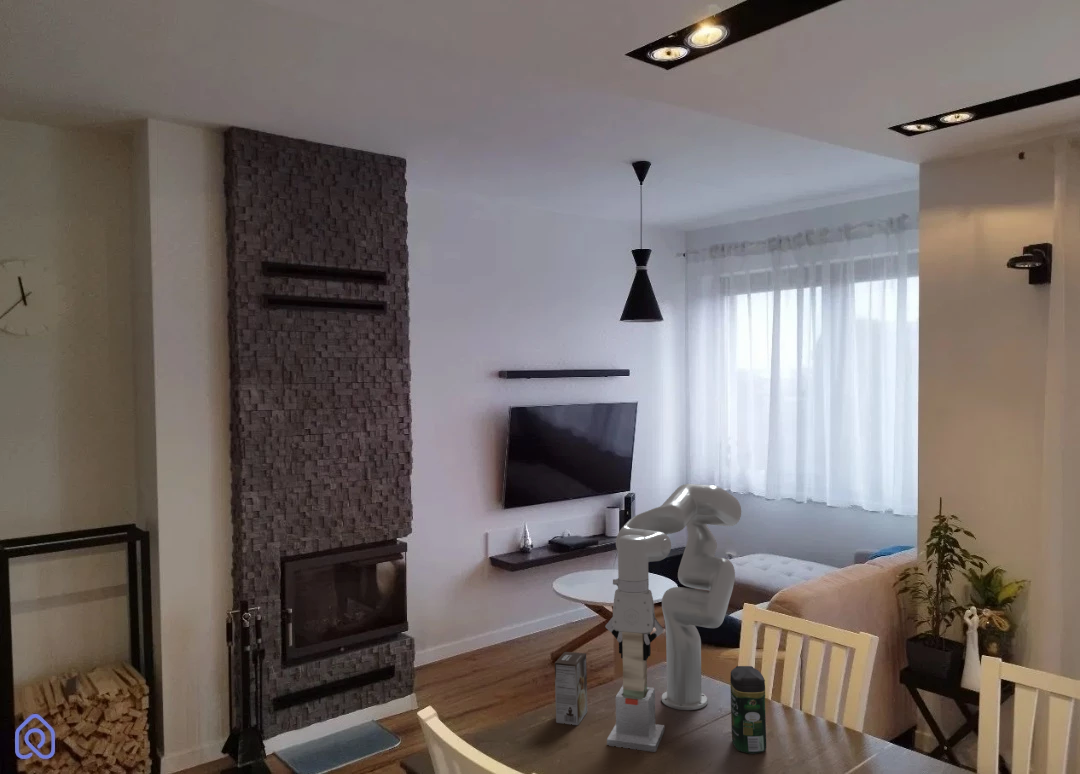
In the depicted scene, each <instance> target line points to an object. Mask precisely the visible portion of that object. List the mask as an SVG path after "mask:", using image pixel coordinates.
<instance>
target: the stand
mask: <svg viewBox="0 0 1080 774" xmlns="http://www.w3.org/2000/svg"><path fill="white" fill-rule="evenodd" d="M610 731H611V732H610V733H609V735H608V736H607V738H606V746H607V745H609V746H610V747H614V746H616V747H615V748H621V747H623V748H622V749H628V748H630V749H631V750H636V749H637V751H643V752H651V753H657V750H658V747H659V745H660V743H661V740H662V738H663V735H664V734H665V725H664V724H656V690H655V687H649V686H647V694H646V696H645V698H639V697H631V696H623V685H622V686H621V687H620V688H619V691H618V692H617V694H616V695H615V724H614V726H613V728H612V730H610ZM630 749H629V750H630Z"/></svg>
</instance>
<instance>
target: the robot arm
mask: <svg viewBox="0 0 1080 774" xmlns="http://www.w3.org/2000/svg"><path fill="white" fill-rule="evenodd" d="M741 517H742V506H741V504H740V502H739V500H738V499H737V498H736V497H735V495H733V494H731V493H729V492H728V491H727V490H725V489H723V488H722V487H719V486H716V485H713V484H701V483H700V484H698V483H697V484H696V483H685V484H682V485H680V486H679V487H677V488H676V489H675V491H673V492H672V493H671V495H669V497H668V498H667V499H666V500H665V501H664V502H663V503H662V504H661V505H660V506H658V507H654V508H651V509H649V510H647V511H644V512H641V513H639V514H636V515H635V516H633V517H632V518H630V519H628V521H627V522H626V523H625V524H624V525H623V526H622V527H621V528H620V530H619V531H618V534H617V536H616V538H615V548H616V550H617V570H618V571H617V572H618V575H617V578H616V579H614V578H613V579H612V585H613V586H615V585H616V586H617V588H616V589H615V590H614V597H613V603H612V605H613V606H612V617H611V618H610V620H609V621H608V622H607V623H606V624H605V626H604V627H605V628H606V629H607V631H609V632H610V633H611V634H612V635H613V636H614V638H616V640H617V642H618V654H620V659H623V645H622V632H630V633H641V634H643V637H644V645H643V660H644V661H646V660H648V659H649V657H651V654H652V653H651V643H652V642H653V641H654V640H655V639H657V637H659V636H660V635H662V634H663V633H664V632H665V642H666V643H665V644H666V645H665V646H666V647H665V649H666V651H665V652H666V691H665V692H663V693H662V694H661V701H662V704H664V705H665V706H667V707H669V708H672V709H675V710H680V711H681V710H682V711H695V710H700V709H703V708H704V707H706V706H707V705H708V696H706V695H705V693H703V691H702V639H701V636H700V633H699V630H698V629H697V627H702V628H707V629H717V628H719V627H720V626H721V625H722V624H723V622H724V619H725V617H726V614H727V611H728V607H729V604H730V600H731V596H732V594H733V591H734V585H735V581H736V580H735V579H736V572H735V567H734V563H732V561H730V560H729V559H727V558H724V557H720V556H715V555H716V552H717V548H718V544H717V540H716V537H715V536H714V534H713V533H712V531H711V529H710V528H709V525H710V526H718V527H719V526H721V527H722V526H723V527H734V526H735V525H737V524H738V523H739V521H740V520H741ZM685 528H686V530H687V541H686V545H685V548H684V552H683V554H682V557H681V560H680V564H679V566H678V570H677V571H678V572H677V578H678V581H679V583H680V584H681V585H683V587H680V586H675V587H674V586H673V587H670V588H668V589H667V590H666V591H665V592H664V593H663V596H662V599H661V609H662V614H663V619H664V625H665V630H664V627H663V626H662V624H661V623H659V621H658V620H657V618H656V614H655V604H654V599H653V593H652V590H651V589H650V588H649V579H650V578H649V563H650V562H651V563H652V562H660V561H662V560H664V559H666V558H667V557H668V556H669V555H670V552H671V549H672V542H671V538H670V537H669V536H668V535H671V534H676V533H680V532H681V531H683V530H684V529H685ZM684 586H685V587H684ZM654 629H655V631H653V630H654Z"/></svg>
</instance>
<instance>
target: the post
mask: <svg viewBox="0 0 1080 774" xmlns="http://www.w3.org/2000/svg"><path fill="white" fill-rule="evenodd" d="M622 645H623V658H622V686H623V696H631V697H639V698H645V696H646V694H647V687H648V663H647V662H648V661H647V660H648V659H647V660H646V661H644V660H643V645H644V637H643V634H641V633H630V632H622Z"/></svg>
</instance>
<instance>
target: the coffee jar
mask: <svg viewBox="0 0 1080 774" xmlns="http://www.w3.org/2000/svg"><path fill="white" fill-rule="evenodd" d="M729 680H730V682H729V683H730V717H731V718H730V719H731V724H730V725H731V741H732V744H733V745H734V747H735V749H736V750H737V751H739V752H741V753H746V754H753V755H755V754H761V753H763V752H765V751H766V750H767V727H766V725H767V724H766V723H767V722H766V721H767V720H766V683H765V682H766V680H765V677H764V675H763V674H762V673H761V672H760V671H759V670H758V669H757V668H755V667H753V666H752V665H737V666H735V667H734V668H733V669H732V670H731V671H730V679H729Z"/></svg>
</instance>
